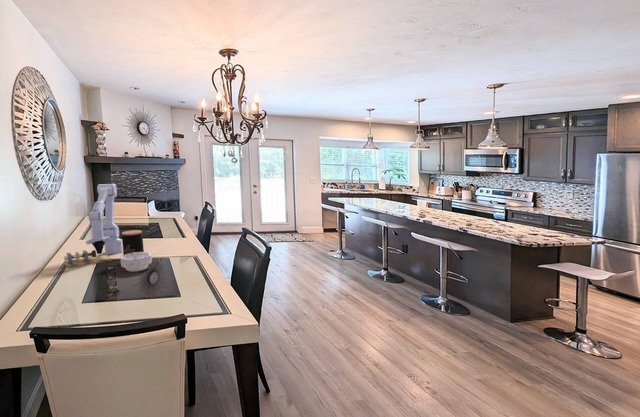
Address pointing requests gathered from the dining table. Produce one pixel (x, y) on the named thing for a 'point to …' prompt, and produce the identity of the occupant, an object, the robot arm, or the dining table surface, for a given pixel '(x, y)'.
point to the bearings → (77, 257)
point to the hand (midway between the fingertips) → (99, 253)
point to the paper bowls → (136, 261)
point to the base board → (91, 261)
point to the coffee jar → (132, 241)
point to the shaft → (82, 255)
